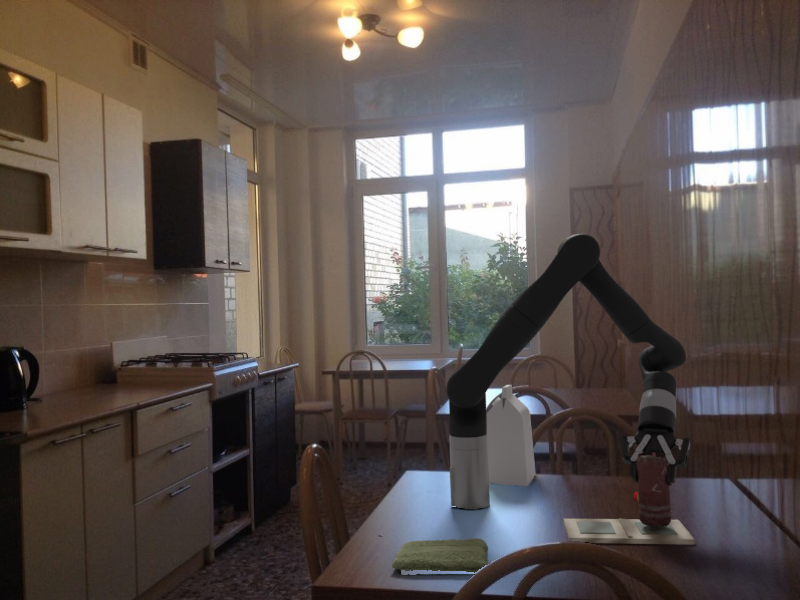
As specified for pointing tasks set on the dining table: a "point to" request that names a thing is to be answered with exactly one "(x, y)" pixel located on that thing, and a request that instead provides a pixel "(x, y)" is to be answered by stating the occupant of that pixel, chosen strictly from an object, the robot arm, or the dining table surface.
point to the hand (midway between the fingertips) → (652, 481)
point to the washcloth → (442, 555)
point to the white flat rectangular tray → (626, 532)
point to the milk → (510, 441)
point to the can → (653, 489)
